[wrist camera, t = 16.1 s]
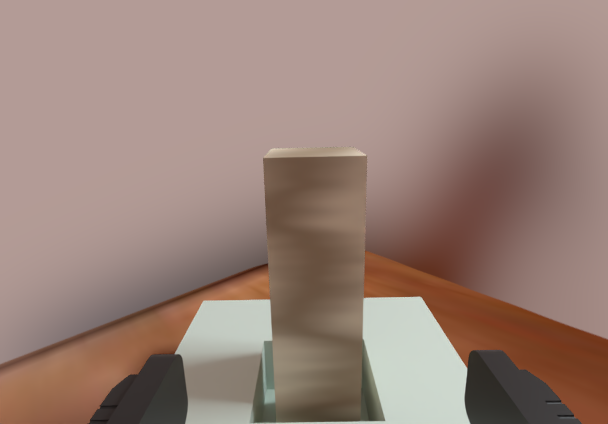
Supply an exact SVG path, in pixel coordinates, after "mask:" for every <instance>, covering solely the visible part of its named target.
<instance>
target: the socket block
mask: <svg viewBox="0 0 608 424" xmlns="http://www.w3.org/2000/svg"><path fill="white" fill-rule="evenodd" d="M175 354H180V355H181V356H182V359H183V365H184V373H185V381H186V389H187V397H188V411H187V417H186V422H185V424H470V422H469V419H468V416H467V413H466V409H465V401H464V397H465V387H466V378H467V368H466V366H465V365H464V363H463V362H462V360H461V358H460V357H459V355H458V354H457V352H456V351H455V349H454V348H453V346H452V344H451V343H450V341H449V340H448V338H447V337H446V335H445V334H444V332H443V330H442V329H441V327H440V326H439V324H438V323H437V321H436V320H435V318H434V316H433V315H432V313H431V312H430V310H429V309H428V307H427V306H426V304H425V302H424V301H423V299H422V298H421V297H394V298H364V300H363V340H362V380H361V420H360V421H358V422H294V423H276V407H275V387H274V366H273V346H272V326H271V306H270V300H226V301H203V303H202V305H201V306H200V308H199V310H198V312H197V314H196V316H195V317H194V319H193V321H192V323H191V325H190V327H189V329H188V330H187V332H186V334H185V336H184V338H183V340H182V341H181V343H180V345H179V347H178V349H177V351H176V352H175Z"/></svg>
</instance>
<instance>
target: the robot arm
mask: <svg viewBox="0 0 608 424" xmlns="http://www.w3.org/2000/svg"><path fill="white" fill-rule="evenodd" d="M464 401H465V409H466V413H467V416H468V419H469V422H470V424H582V423H581V422H580V421H579V420H578V419H575V417H574V414H573V413H572V412H571V411H570V410H569V409H568V408H567V406H566V405H565V404H562V403H561V400H560V399H559V397H558V396H557V395H556V394H555V393H554V392H553V391H552V390H551V389H550V387H549V386H548V385H547V384H546V383H544V382H543V381H542V380H540V379H539V378H537V377H536V376H534V375H533V374H531V373H530V372H528V371H527V370H519V369H518V368H517V367H516V366H515V364H514V363H513V362H512V361H511V360H510V358H509V357H508V356H507V355H506V354H505V353H504V352H503V351H501V350H473V351H471V352H470V355H469V360H468V369H467V378H466V387H465V397H464ZM187 411H188V397H187V389H186V381H185V373H184V365H183V359H182V356H181V355H180V354H157V355H151V356H150V357H149V359H148V360H147V362H146V363H145V365H144V366H143V368H142V369H141V371H140V373H139V374H138V375H129V376H128V377H126V378H125V379H124V380H123V381H121V382H120V383H119V384H118V385H116V386H115V387H114V388H113V389H112V390H111V391H110V393H109V394H108V395H107V397H106V398H105V400H104V401H103V403H102V404H101V405H100V409H98V410H97V411H96V412H95V414H94V415H93V417H92V418H91V419H90V423H89V424H185V422H186V417H187Z"/></svg>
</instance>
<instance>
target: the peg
mask: <svg viewBox="0 0 608 424" xmlns="http://www.w3.org/2000/svg"><path fill="white" fill-rule="evenodd" d="M263 164H264V185H265V205H266V225H267V245H268V265H269V286H270V306H271V326H272V346H273V366H274V387H275V407H276V423H294V422H358V421H360V420H361V380H362V340H363V300H364V260H365V218H366V216H365V215H366V177H367V155H365V154H364V153H362V152H360V151H359V150H357V149H355V148H354V147H329V148H328V147H327V148H282V149H280V148H279V149H271V150H270V151H269V152H268V153H267V154H266V155H265V156H264V158H263Z"/></svg>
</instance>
